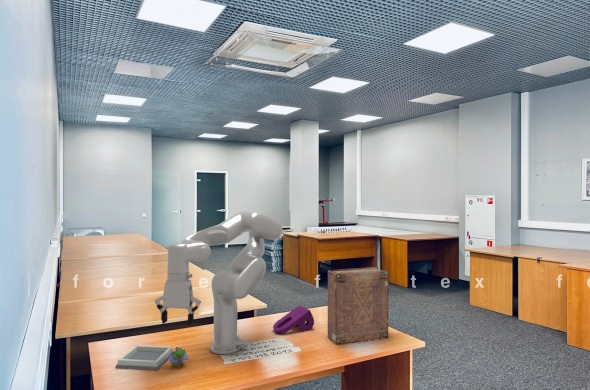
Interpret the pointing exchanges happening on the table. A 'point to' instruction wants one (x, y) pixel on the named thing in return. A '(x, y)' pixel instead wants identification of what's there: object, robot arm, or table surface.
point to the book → (357, 304)
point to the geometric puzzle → (178, 357)
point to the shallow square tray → (145, 357)
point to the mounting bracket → (295, 320)
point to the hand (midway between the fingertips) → (177, 323)
